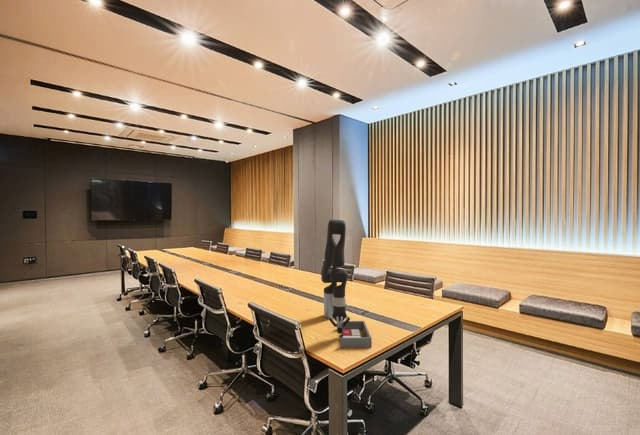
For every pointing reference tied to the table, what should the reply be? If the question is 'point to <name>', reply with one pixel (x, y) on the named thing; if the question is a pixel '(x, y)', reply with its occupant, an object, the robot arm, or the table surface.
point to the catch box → (359, 340)
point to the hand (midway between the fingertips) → (339, 333)
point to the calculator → (350, 333)
